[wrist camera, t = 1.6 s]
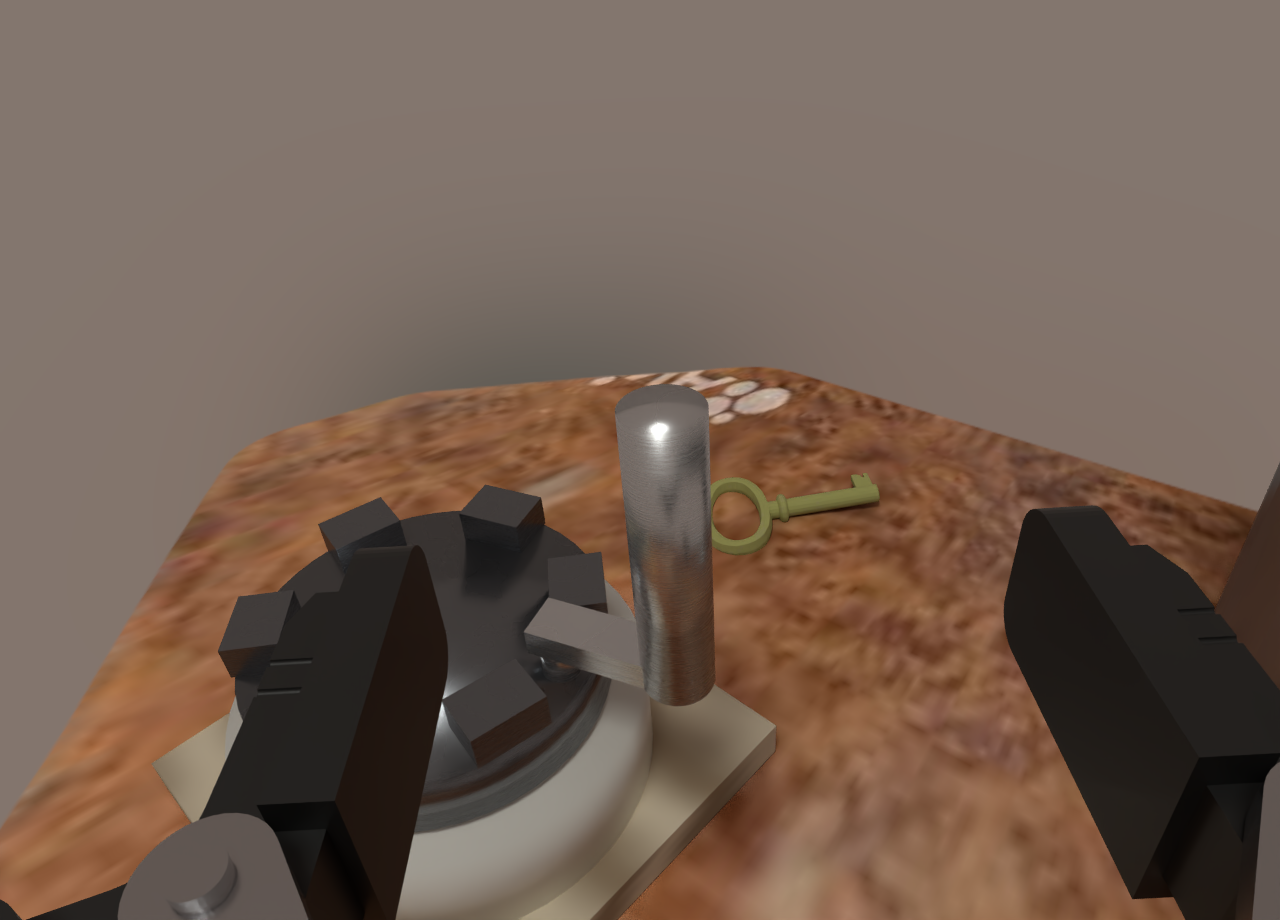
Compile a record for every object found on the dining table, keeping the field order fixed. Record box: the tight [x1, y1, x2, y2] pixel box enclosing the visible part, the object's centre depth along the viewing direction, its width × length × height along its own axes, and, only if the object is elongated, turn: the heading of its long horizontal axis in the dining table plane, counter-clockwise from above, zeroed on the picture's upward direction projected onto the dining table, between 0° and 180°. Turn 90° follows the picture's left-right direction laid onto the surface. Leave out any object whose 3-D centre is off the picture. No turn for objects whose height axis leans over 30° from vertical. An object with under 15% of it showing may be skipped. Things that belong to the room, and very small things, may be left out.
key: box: [710, 473, 879, 555], centre depth 60 cm, size 7×12×2 cm, turn 112°
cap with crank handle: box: [218, 384, 715, 832], centre depth 34 cm, size 16×21×17 cm
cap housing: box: [225, 579, 653, 920], centre depth 42 cm, size 19×19×5 cm
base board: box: [152, 685, 776, 920], centre depth 44 cm, size 22×22×2 cm
